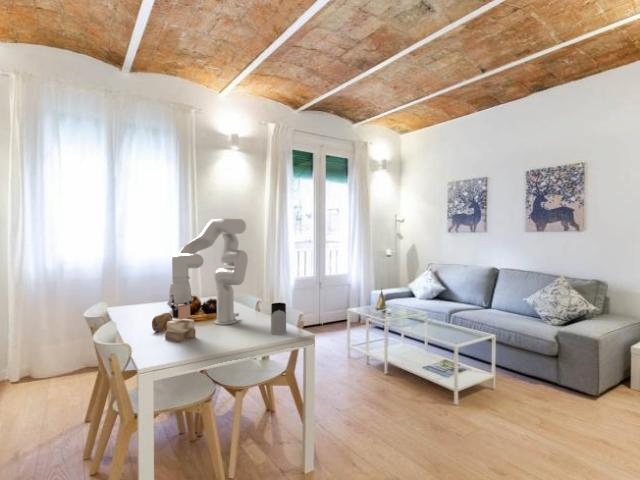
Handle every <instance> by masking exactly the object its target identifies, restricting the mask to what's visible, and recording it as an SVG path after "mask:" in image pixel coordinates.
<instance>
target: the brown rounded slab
mask: <svg viewBox="0 0 640 480" xmlns="http://www.w3.org/2000/svg"><path fill="white" fill-rule="evenodd" d="M172 320H173V318H172V313H170V312H164V313H161V314H159V315H156V316H154V317H153V319H152V321H151V327H152V330H153V332H155V333H156V332H159V333H160V332H163V331H166V330H167V322H169V321H172Z"/></svg>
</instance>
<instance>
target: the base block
mask: <svg viewBox="0 0 640 480" xmlns="http://www.w3.org/2000/svg"><path fill="white" fill-rule="evenodd" d="M194 338H196V328H194V329H192V330H189V331H186V332H183V333H175V332H169V331H167V330H164V340H165V341H170V342H175V343H178V344H179V343H182V342H186V341H189V340H191V339H192V340H193V339H194ZM188 339H189V340H188Z"/></svg>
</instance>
